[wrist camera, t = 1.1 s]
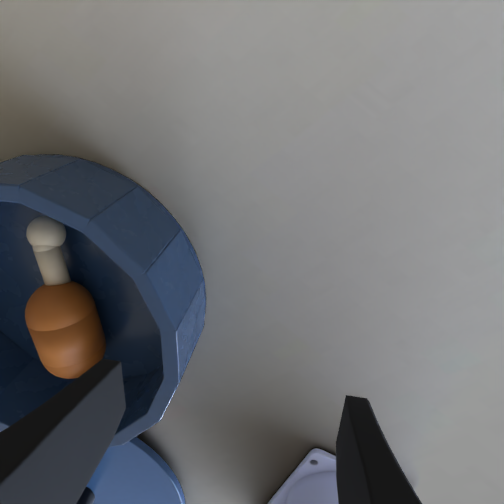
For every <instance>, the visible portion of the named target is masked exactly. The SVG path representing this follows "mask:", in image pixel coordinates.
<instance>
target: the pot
mask: <svg viewBox="0 0 504 504" xmlns="http://www.w3.org/2000/svg"><path fill="white" fill-rule="evenodd" d="M40 216H48V217H50V218H53V219H55V220H57V221H59V222H61V223H63V225H64V227H65V229H66V238H65V241H64V243H63V244H62V245H61V246H60V247H61V251H62V254H63V257H64V260H65V263H66V266H67V269H68V272H69V276H70V279H71V281H74V282H76V283H78V284H80V285H82V286H83V287H85V288H86V289H87V290H88V291H89V292H90V294H91V295H92V297H93V299H94V301H95V305H96V308H97V311H98V315H99V318H100V321H101V325H102V328H103V331H104V335H105V339H106V350H105V353H104V356H103V359H109V360H116V361H121V367H122V376H123V385H124V394H125V403H126V409H125V411H124V414H123V416H122V419H121V421H120V424H119V426H118V429H117V431H116V433H115V435H114V438H113V440H112V441H111V443H110V445H109V447H111V446H118V445H123V444H125V443H127V442H128V441H130V440H131V439H133V438H134V437H136V436H138V435H139V434H141V433H142V432H144V431H145V430H147V429H148V428H150V427H152V426H153V425H155V424H156V423H158V422H159V421H160V420H161V418H162V416H163V415H164V413H165V411H166V409H167V407H168V405H169V403H170V401H171V399H172V397H173V395H174V393H175V391H176V389H177V387H178V385H179V383H180V381H181V378H182V376H183V374H184V371H185V369H186V367H187V364H188V362H189V360H190V357H191V355H192V353H193V351H194V348H195V346H196V344H197V341H198V339H199V337H200V334H201V332H202V330H203V327H204V316H205V309H206V292H205V282H204V278H203V274H202V270H201V266H200V263H199V261H198V258H197V256H196V253H195V251H194V249H193V247H192V245H191V243H190V241H189V239H188V237H187V236H186V234H185V233H184V231H183V230H182V228H181V227H180V225H179V224H178V223H177V221H176V220H175V219H174V217H173V216H172V215H171V214H170V213H169V212H168V211H167V210H166V208H165V207H164V206H163V205H162V204H161V203H160V202H159V201H158V200H156V199H155V198H154V197H153V196H152V195H151V194H150V193H149V192H147V191H146V190H145V189H143V188H142V187H140V186H139V185H138V184H136V183H135V182H133V181H132V180H131V179H129V178H127V177H125V176H123V175H122V174H120V173H118V172H116V171H114V170H112V169H110V168H107V167H105V166H102V165H100V164H98V163H95V162H92V161H88V160H84V159H81V158H77V157H71V156H64V155H34V156H33V155H22V156H19V157H16V158H13V159H10V160H7V161H4V162H1V163H0V431H3V430H5V429H6V428H8V427H9V426H11V425H13V424H14V423H16V422H17V421H19V420H20V419H22V418H23V417H24V416H26V415H27V414H29V413H30V412H32V411H33V410H35V409H36V408H38V407H39V406H41V405H42V404H43V403H45V402H46V401H48V400H49V399H50V398H52V397H53V396H54V395H56V394H57V393H58V392H60V391H61V390H62V389H64V388H65V387H66V386H68V385H69V384H70V383H72V382H73V381H74V380H76V379H77V378H73V379H65V378H60V377H57V376H55V375H53V374H51V373H50V372H49V371H48V370H47V369H46V368H45V367H44V366H43V364H42V362H41V360H40V358H39V355H38V352H37V350H36V347H35V345H34V342H33V340H32V337H31V335H30V332H29V330H28V327H27V324H26V320H25V309H26V305H27V302H28V300H29V298H30V296H31V295H32V294H33V293H34V292H35V291H36V290H37V289H38V288H39V287H41V286H42V285H44V284H45V283H44V280H43V277H42V274H41V272H40V269H39V266H38V263H37V260H36V257H35V255H34V252H33V248H32V245H31V244H30V243H29V241H28V239H27V236H26V231H27V227H28V225H29V224H30V222H31V221H32V220H34V219H35V218H37V217H40Z"/></svg>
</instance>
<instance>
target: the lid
mask: <svg viewBox="0 0 504 504" xmlns="http://www.w3.org/2000/svg"><path fill="white" fill-rule="evenodd" d="M0 432H1V431H0ZM76 504H185V499H184V494H183V491H182V488H181V485H180V483H179V481H178V479H177V477H176V476H175V474H174V473H173V471H172V470H171V468H170V467H169V466H168V464H167V463H166V462H165V461H164V460H163V459H162V458H161V457H160V456H159V455H158V454H157V453H156V452H155V451H154V450H153V449H152V448H150V447H149V446H148V445H147V444H145V443H144V442H143V441H141V440H140V439H138V438H137V437H134V438H133V439H131V440H130V441H128V442H127V443H125V444H123V445H118V446H111V447H108V449H107V451H106V452H105V454H104V456H103V458H102V459H101V461H100V463H99V465H98V467H97V468H96V470H95V472H94V474H93V475H92V477H91V479H90V481H89V482H88V484H87V486H86V488H85V489H84V491H83V493H82V495H81V496H80V498H79V500H78V502H77V503H76Z"/></svg>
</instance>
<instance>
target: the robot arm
mask: <svg viewBox="0 0 504 504" xmlns="http://www.w3.org/2000/svg"><path fill="white" fill-rule="evenodd" d="M125 409H126V403H125V394H124V385H123V376H122V367H121V361H116V360H109V359H102V360H101V361H99V362H98V363H97V364H95V365H94V366H93V367H91V368H90V369H89V370H87V371H86V372H85V373H83V374H82V375H81V376H80V377H78V378H77V379H76V380H74V381H73V382H72V383H70V384H69V385H68V386H66V387H65V388H64V389H62V390H61V391H60V392H58V393H57V394H56V395H54V396H53V397H52V398H50V399H49V400H48V401H46V402H45V403H43V404H42V405H41V406H39V407H38V408H36V409H35V410H33V411H32V412H30V413H29V414H27V415H26V416H24V417H23V418H22V419H20V420H19V421H17V422H16V423H14V424H13V425H11V426H9V427H8V428H6V429H5V430H3V431H1V432H0V504H76V503H77V502H78V500H79V498H80V496H81V495H82V493H83V491H84V489H85V488H86V486H87V484H88V482H89V481H90V479H91V477H92V475H93V474H94V472H95V470H96V468H97V467H98V465H99V463H100V461H101V459H102V458H103V456H104V454H105V452H106V451H107V449H108V447H109V445H110V443H111V441H112V440H113V438H114V435H115V433H116V431H117V429H118V426H119V424H120V421H121V419H122V416H123V414H124V411H125ZM267 504H422V503H421V501H420V500H419V498H418V496H417V495H416V493H415V491H414V490H413V488H412V486H411V485H410V483H409V481H408V480H407V478H406V476H405V474H404V473H403V471H402V469H401V467H400V465H399V464H398V462H397V460H396V458H395V456H394V454H393V452H392V450H391V449H390V447H389V445H388V443H387V441H386V439H385V437H384V434H383V432H382V430H381V428H380V426H379V424H378V422H377V419H376V417H375V415H374V412H373V410H372V407H371V405H370V402H369V401H368V400H367V398H360V397H354V396H347V395H346V398H345V403H344V407H343V412H342V417H341V422H340V427H339V431H338V436H337V441H336V456H334V455H332V454H330V453H328V452H326V451H323V450H321V449H316V448H315V449H312V450H311V451H310V452H309V454H308V455H307V456H306V457H305V458H304V460H303V461H302V462H301V463H300V464H299V466H298V467H297V468H296V469H295V471H294V472H293V473H292V474H291V475H290V477H289V478H288V479H287V480H286V481H285V483H284V484H283V485H282V486H281V488H280V489H279V490H278V491H277V492H276V494H275V495H274V496H273V497H272V498H271V500H270V501H269V502H268V503H267Z"/></svg>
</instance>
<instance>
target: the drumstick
mask: <svg viewBox="0 0 504 504" xmlns="http://www.w3.org/2000/svg"><path fill="white" fill-rule="evenodd" d="M26 236H27V239H28V241H29V243H30V244H31V245H32V248H33V252H34V255H35V257H36V260H37V263H38V266H39V269H40V272H41V274H42V277H43V280H44V283H45V284H44V285H42V286H41V287H39V288H38V289H37V290H36V291H35V292H34V293H33V294H32V295H31V296H30V298H29V300H28V302H27V305H26V309H25V320H26V324H27V327H28V330H29V332H30V335H31V337H32V340H33V342H34V345H35V347H36V350H37V352H38V355H39V358H40V360H41V362H42V364H43V366H44V367H45V368H46V369H47V370H48V371H49V372H50V373H51V374H53V375H55V376H57V377H60V378H65V379H73V378H78V377H80V376H81V375H82V374H83V373H85V372H86V371H87V370H89V369H90V368H91V367H93V366H94V365H95V364H97V363H98V362H99V361H101V360H102V359H103V356H104V353H105V350H106V339H105V335H104V331H103V328H102V325H101V321H100V318H99V315H98V311H97V308H96V305H95V301H94V299H93V297H92V295H91V294H90V292H89V291H88V290H87V289H86V288H85V287H83V286H82V285H80V284H78V283H76V282H74V281H71V279H70V276H69V272H68V269H67V266H66V263H65V260H64V257H63V254H62V251H61V247H60V246H61V245H62V244H63V243H64V241H65V238H66V229H65V227H64V225H63V223H61V222H59V221H57V220H55V219H53V218H50V217H48V216H40V217H37V218H35V219H34V220H32V221H31V222H30V224H29V225H28V227H27V231H26Z"/></svg>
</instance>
